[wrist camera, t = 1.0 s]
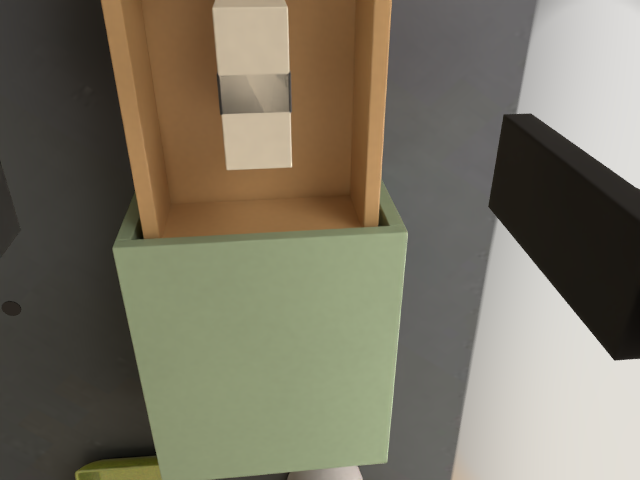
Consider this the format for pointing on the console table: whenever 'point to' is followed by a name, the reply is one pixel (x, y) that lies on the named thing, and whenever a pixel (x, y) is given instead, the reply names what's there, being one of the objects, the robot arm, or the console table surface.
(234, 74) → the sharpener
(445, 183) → the console table surface
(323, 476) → the coffee cup
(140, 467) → the olive green square tray
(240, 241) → the cabinet
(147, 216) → the drawer
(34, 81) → the console table surface
